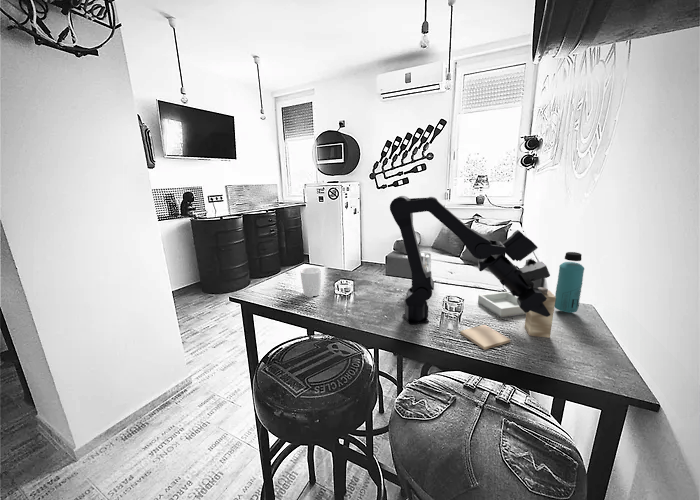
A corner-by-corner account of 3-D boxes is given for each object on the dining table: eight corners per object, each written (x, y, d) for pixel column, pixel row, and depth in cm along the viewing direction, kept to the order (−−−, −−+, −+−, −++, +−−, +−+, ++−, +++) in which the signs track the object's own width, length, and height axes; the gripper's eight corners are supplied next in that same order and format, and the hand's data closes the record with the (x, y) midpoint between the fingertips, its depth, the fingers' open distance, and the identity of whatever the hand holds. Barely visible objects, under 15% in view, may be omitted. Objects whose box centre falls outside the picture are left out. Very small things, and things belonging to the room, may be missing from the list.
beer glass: (430, 294, 112) (432, 256, 108) (412, 293, 113) (413, 256, 110) (429, 287, 118) (430, 252, 115) (412, 286, 120) (413, 251, 116)
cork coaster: (484, 349, 75) (484, 347, 75) (460, 333, 83) (460, 330, 83) (510, 342, 78) (510, 339, 78) (484, 326, 86) (484, 324, 86)
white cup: (326, 292, 117) (324, 269, 114) (313, 299, 110) (311, 274, 108) (311, 289, 121) (309, 266, 119) (298, 295, 115) (296, 272, 112)
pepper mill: (529, 335, 81) (534, 291, 78) (524, 326, 86) (529, 285, 83) (549, 337, 80) (556, 293, 76) (543, 328, 84) (549, 286, 81)
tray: (500, 317, 92) (501, 308, 91) (477, 302, 103) (478, 294, 102) (532, 313, 94) (533, 304, 93) (506, 299, 105) (507, 291, 104)
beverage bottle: (570, 319, 89) (581, 256, 84) (548, 310, 95) (556, 252, 90) (581, 314, 92) (592, 253, 87) (559, 306, 98) (568, 249, 93)
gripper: (541, 262, 70) (588, 308, 69) (521, 245, 87) (559, 282, 86) (502, 290, 74) (546, 334, 73) (490, 268, 91) (526, 304, 91)
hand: (545, 311), depth 81 cm, fingers closed on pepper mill, 5 cm apart
